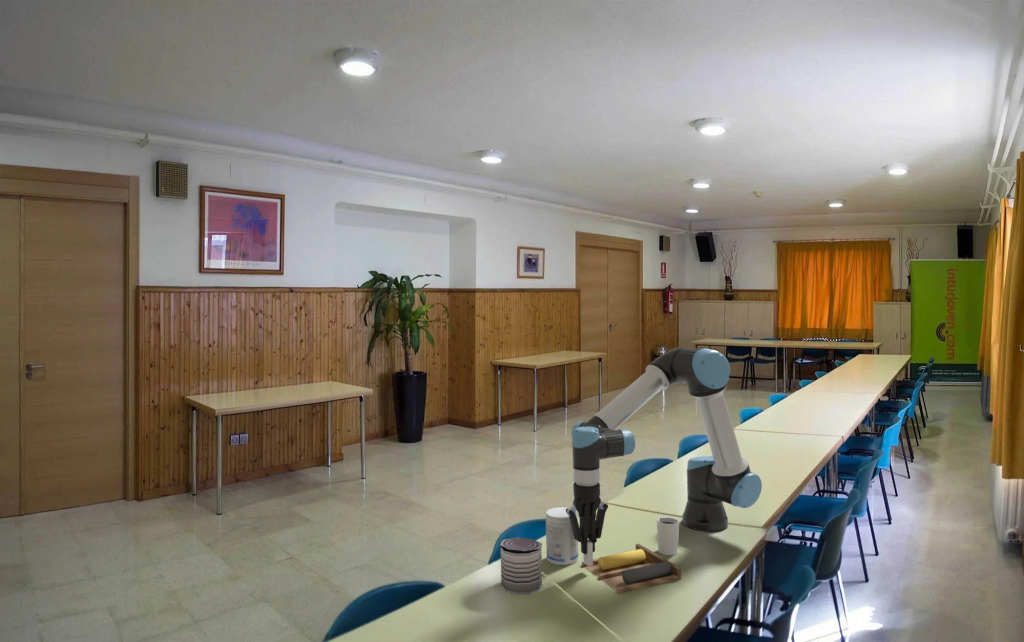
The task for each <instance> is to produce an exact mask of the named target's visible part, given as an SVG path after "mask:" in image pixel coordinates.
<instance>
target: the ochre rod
mask: <svg viewBox="0 0 1024 642" xmlns="http://www.w3.org/2000/svg"><path fill="white" fill-rule="evenodd" d="M598 558H599V559H598ZM598 558H597V559H598V564H599V567H600V569H601V570H607V569H612V568H617V567H622V566H626V565H631V564H636V563H640V562H644V561H645V559H646V556H645V553H644V551H643V550H642V549H639V550H636V549H634V550H631V551H625V552H620V553H614V554H611V555H606V556H605V555H604V556H600V557H598Z"/></svg>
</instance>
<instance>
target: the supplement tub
mask: <svg viewBox="0 0 1024 642" xmlns="http://www.w3.org/2000/svg"><path fill="white" fill-rule="evenodd" d="M567 508H569V509H570V508H571V507H562V506H561V507H559V506H558V507H553V508H549V509H548V510H547V511H546V512H545V538H546V539H545V541H546V545H545V547H546V559H547V561H548V562H549V563H551V564H553V565H557V566H570V565H573V564H575V563H577V562H578V561H579V542H578V541H577V540H576V539H575V538H574V534H573V530H572V526H571V522H570V518H569V515H568V514H567V512H566V509H567ZM576 517H577V518H578V511H576Z"/></svg>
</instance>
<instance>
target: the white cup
mask: <svg viewBox="0 0 1024 642" xmlns="http://www.w3.org/2000/svg"><path fill="white" fill-rule="evenodd" d="M679 529H680V520H679V519H677V518H675V517H672V516H671V517H670V516H662V517H658V518H657V519H656V530H657V550H658V553H659V554H661V555H664V556H674V555H677V554H678V553H679V552H678V551H679V533H680V532H679Z"/></svg>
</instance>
